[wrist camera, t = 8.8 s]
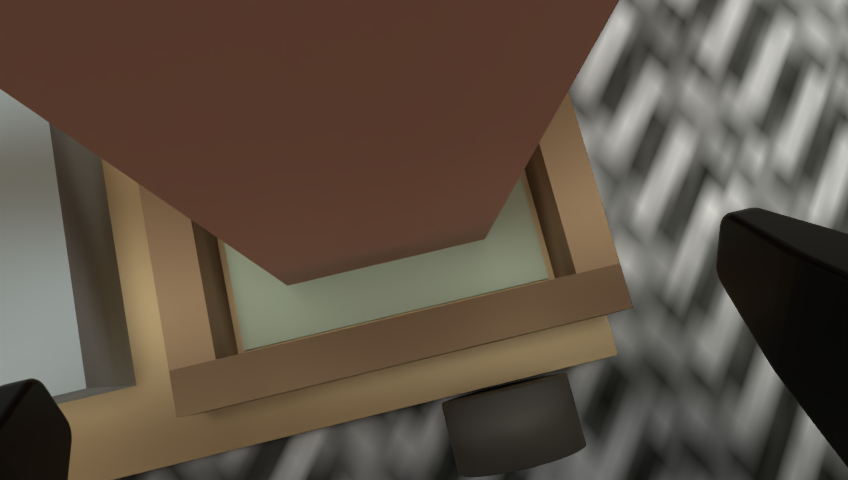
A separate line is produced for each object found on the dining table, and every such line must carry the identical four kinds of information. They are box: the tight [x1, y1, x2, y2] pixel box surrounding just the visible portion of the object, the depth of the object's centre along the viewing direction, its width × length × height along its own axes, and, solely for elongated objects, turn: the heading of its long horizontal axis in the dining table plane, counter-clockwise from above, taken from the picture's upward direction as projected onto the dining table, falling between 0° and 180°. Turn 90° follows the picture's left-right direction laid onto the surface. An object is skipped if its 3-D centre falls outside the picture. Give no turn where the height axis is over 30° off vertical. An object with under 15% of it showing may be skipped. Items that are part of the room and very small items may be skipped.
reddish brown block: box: [0, 0, 619, 286], centre depth 10 cm, size 5×5×13 cm
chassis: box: [0, 89, 633, 480], centre depth 16 cm, size 15×20×4 cm
